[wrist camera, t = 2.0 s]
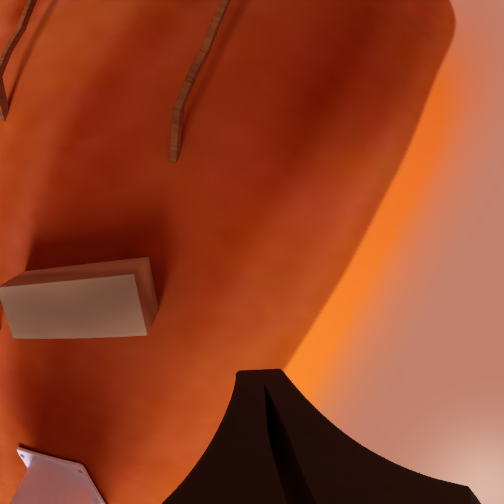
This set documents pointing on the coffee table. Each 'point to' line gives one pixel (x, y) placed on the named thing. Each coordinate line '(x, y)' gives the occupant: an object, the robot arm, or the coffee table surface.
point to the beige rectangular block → (82, 301)
